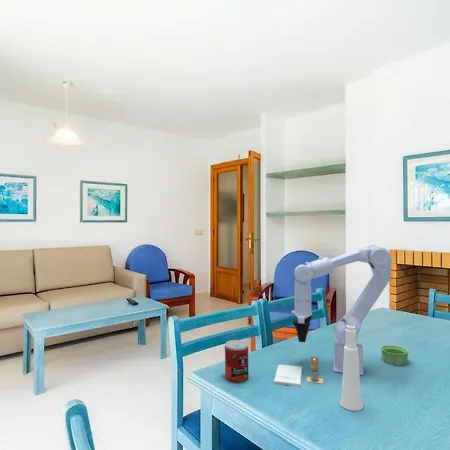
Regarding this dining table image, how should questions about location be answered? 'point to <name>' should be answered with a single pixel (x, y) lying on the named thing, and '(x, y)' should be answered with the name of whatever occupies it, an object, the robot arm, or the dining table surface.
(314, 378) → the photo-textured cylinder
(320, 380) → the plate
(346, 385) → the cosmetic bottle
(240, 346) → the canned food
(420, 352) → the dining table surface
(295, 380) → the external hard drive
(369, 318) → the dining table surface
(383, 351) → the ramekin
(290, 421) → the dining table surface
